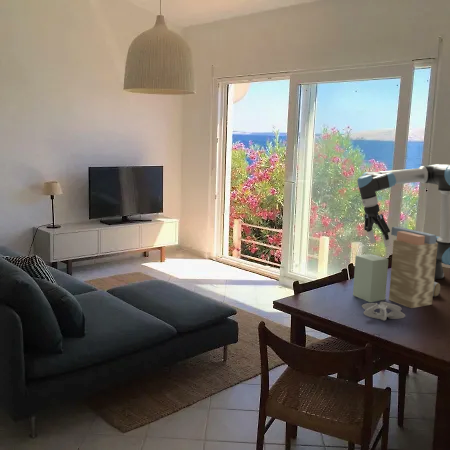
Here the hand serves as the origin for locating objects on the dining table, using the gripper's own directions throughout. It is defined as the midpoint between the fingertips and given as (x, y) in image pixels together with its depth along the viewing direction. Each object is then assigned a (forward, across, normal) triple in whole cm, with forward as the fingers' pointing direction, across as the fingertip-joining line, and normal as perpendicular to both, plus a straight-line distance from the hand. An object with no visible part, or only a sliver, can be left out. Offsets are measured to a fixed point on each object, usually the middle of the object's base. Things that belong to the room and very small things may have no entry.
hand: (380, 244), depth 274 cm
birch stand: (+26, +22, -4) cm, 34 cm away
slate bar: (-3, +20, +6) cm, 21 cm away
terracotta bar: (-4, +26, 0) cm, 26 cm away
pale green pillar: (+20, +11, -20) cm, 30 cm away
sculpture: (+20, +38, -30) cm, 52 cm away
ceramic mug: (+30, +14, +13) cm, 35 cm away
